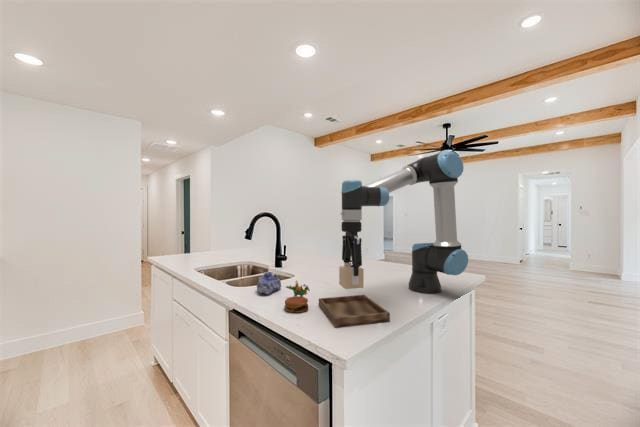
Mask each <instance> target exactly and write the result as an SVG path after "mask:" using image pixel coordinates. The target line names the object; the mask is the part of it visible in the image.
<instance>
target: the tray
mask: <svg viewBox="0 0 640 427" xmlns="http://www.w3.org/2000/svg"><path fill="white" fill-rule="evenodd" d="M318 307H319V308H320V310H321V311H322V312H323V313H324V315H325V316H326V317H327V319H328V321H330V323H331V324H332V325H333V327H334V328H335V329H338V328H345V327H355V326H364V325H371V324H380V323H390V322H391V313H390V312H389V311H388V310H386V309H385V308H384V307H382V306H381V305H379V304H378V303H376V302H375V301H374V300H372V299H371V298H369V297H368V296H367V295H365V294H358V295H355V294H354V295H347V296H345V295H343V296H332V297H321V298H318Z"/></svg>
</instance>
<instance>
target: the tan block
mask: <svg viewBox="0 0 640 427" xmlns="http://www.w3.org/2000/svg"><path fill="white" fill-rule="evenodd" d="M338 269H339V270H338V271H339V276H338V277H339V278H338V279H339V280H338V284H339V285H340V286H341V287H342V288H344V289H345V290H351V289H355V290H356V289H364V268H362V267H361V266H360V267H359V285H351V266H344V265H340V266H339V268H338Z"/></svg>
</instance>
